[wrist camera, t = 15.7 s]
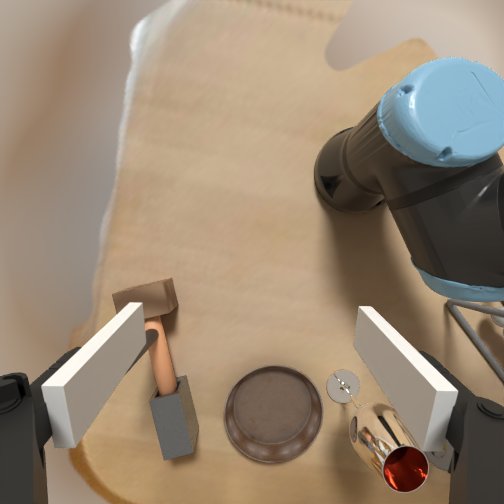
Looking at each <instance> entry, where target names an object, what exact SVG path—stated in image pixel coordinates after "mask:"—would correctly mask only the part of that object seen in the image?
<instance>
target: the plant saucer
mask: <svg viewBox="0 0 504 504" xmlns="http://www.w3.org/2000/svg"><path fill="white" fill-rule="evenodd" d="M322 421H323V404H322V399H321V396H320V394H319V391H318V389H317V388H316V386H315V385H314V383H313V382H312V381H311V380H310V379H309V378H308V377H307V376H306V375H305V374H303V373H302V372H300V371H298V370H296V369H294V368H292V367H288V366H284V365H266V366H262V367H258V368H256V369H253V370H251V371H250V372H248V373H246V374H245V375H244V376H242V377H241V378H240V379H239V380H238V381H237V382H236V383H235V385H234V386H233V387H232V389H231V390H230V392H229V394H228V397H227V400H226V403H225V408H224V422H225V427H226V430H227V433H228V435H229V437H230V439H231V441H232V442H233V444H234V445H235V446H236V447H237V448H238V449H239V450H240V451H241V452H242V453H244V454H245V455H247V456H248V457H250V458H253V459H255V460H258V461H261V462H267V463H277V462H283V461H287V460H290V459H293V458H295V457H297V456H298V455H300V454H302V453H303V452H304V451H305V450H307V449H308V448H309V447H310V445H311V444H312V443H313V442H314V440H315V439H316V437H317V435H318V433H319V431H320V429H321V425H322Z"/></svg>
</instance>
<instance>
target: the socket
mask: <svg viewBox="0 0 504 504" xmlns="http://www.w3.org/2000/svg"><path fill="white" fill-rule="evenodd" d="M112 297H113V301H114V305H115V309H116V313H117V314H118V313H119V312H120V311H121V310H122V309H123V308H124V307H126V306H127V305H128V304H129V303H130V302H133V303H143V313H144V319H146V318H150V317H154V316H159V315H163V314H167V313H170V312H171V311H172V310H173V309H174V308H175V307H176V306H177V305H178V301H177V297H176V293H175V289H174V285H173V280H172V278H170V279H165V280H161V281H157V282H153V283H148V284H144V285H140V286H136V287H131V288H127V289H125V290H122V291H119V292H117V293H114V294H112Z"/></svg>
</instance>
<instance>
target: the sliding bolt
mask: <svg viewBox="0 0 504 504" xmlns="http://www.w3.org/2000/svg"><path fill="white" fill-rule="evenodd" d="M144 324H145V334H146V344H145V346H144V347H143V348H142V350H141V351H140V353H139V354H138V356H137V357H136V359H135V360H134V362H133V363H132V365H131V366H130V368H129V369H128V371H129V370H130V369H131V368H132V366H133V365H134V364H135V363H136V362H137V361H138V360H139V359H140V358H141V356H142V355H143V354H144V353H145V352H146V351H147V350H149V354H150V358H151V362H152V366H153V370H154V374H155V378H156V382H157V386H158V391H159V395H160V396H164V395H168V394H171V393H175V392H176V391H177V389H178V386H177V382H176V378H175V374H174V370H173V366H172V362H171V358H170V354H169V350H168V346H167V341H166V337H165V333H164V329H163V325H162V321H161V317H160V315H159V316H154V317H150V318H146V319H144ZM128 371H127V372H128ZM127 372H126V373H127Z"/></svg>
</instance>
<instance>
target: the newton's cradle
mask: <svg viewBox="0 0 504 504" xmlns="http://www.w3.org/2000/svg"><path fill="white" fill-rule="evenodd" d="M503 303H504V301H503ZM456 305H457V306H460V307H464V308H468V309H472V310H475V311H479V312H483V313H487V314H490V315H491V318H492V320H493V322H494V323H495V324H497V325H498V326H500V327H503V328H504V307H498V308H492V307H487V306H483V305H479V304H475V303H471V302H466V301H462V300H456V299H449V300H448V301H447V306H448V308H449V309H450V310H451V312H452V313H453V314H454V316H455V317H456V318H457V320H458V321H459V322H460V324H461V325H462V326H463V328H464V329H465V331H466V332H467V333H468V335H469V336H470V337H471V339H472V340H473V341H474V343H475V344H476V345H477V347H478V348H479V349H480V351H481V352H482V353H483V355H484V356H485V357H486V359H487V360H488V361H489V363H490V364H491V365H492V367H493V368H494V369H495V371H496V372H497V373H498V375H499V376H500V377H501V379H502V380H503V382H504V371H503V369H502V368H501V367H500V365H499V364H498V363H497V361H496V360H495V359H494V357H493V356H492V355H491V353H490V352H489V351H488V349H487V348H486V347H485V345H484V344H483V342H482V341H481V340H480V338H479V337H478V336H477V334H476V333H475V332H474V330H473V329H472V328H471V326H470V325H469V324H468V322H467V321H466V320H465V318H464V317H463V316H462V314H461V313H460V312H459V310H458V309H457V308H456ZM503 334H504V329H503Z"/></svg>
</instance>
